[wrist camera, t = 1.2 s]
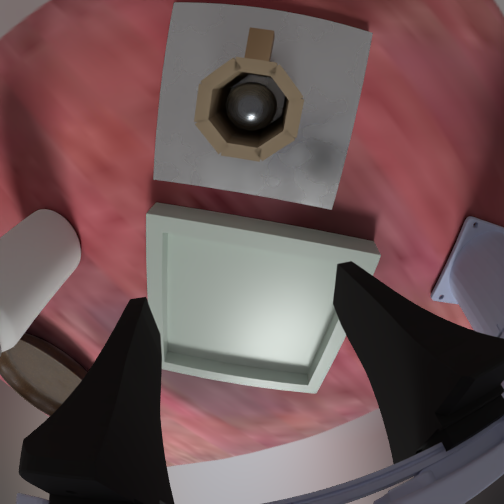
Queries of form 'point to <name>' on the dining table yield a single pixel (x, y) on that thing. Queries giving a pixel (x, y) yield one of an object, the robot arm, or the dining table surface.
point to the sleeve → (219, 86)
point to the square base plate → (261, 100)
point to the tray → (247, 296)
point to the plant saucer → (40, 372)
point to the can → (33, 270)
